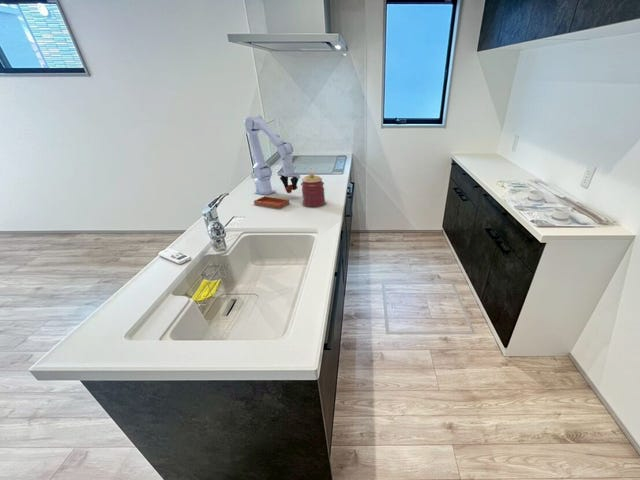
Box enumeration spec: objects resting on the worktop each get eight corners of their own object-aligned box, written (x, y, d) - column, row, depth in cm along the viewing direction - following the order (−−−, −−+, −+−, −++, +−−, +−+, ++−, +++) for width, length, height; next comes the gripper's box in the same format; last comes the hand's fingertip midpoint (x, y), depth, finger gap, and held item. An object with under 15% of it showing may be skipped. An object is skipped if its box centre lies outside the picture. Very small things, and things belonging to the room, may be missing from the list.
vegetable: (293, 188, 183) (298, 185, 193) (284, 184, 182) (290, 181, 193) (291, 195, 184) (296, 192, 195) (282, 192, 184) (288, 188, 195)
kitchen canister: (298, 205, 180) (295, 174, 171) (310, 199, 190) (307, 169, 181) (318, 208, 176) (316, 176, 167) (329, 201, 187) (327, 171, 177)
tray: (254, 204, 182) (253, 200, 180) (265, 199, 189) (264, 196, 188) (279, 209, 176) (278, 204, 174) (289, 203, 183) (288, 199, 182)
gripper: (273, 166, 181) (276, 189, 188) (294, 168, 176) (296, 192, 183) (280, 163, 186) (284, 186, 194) (301, 166, 182) (303, 189, 189)
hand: (290, 189), depth 189 cm, fingers closed on vegetable, 5 cm apart
